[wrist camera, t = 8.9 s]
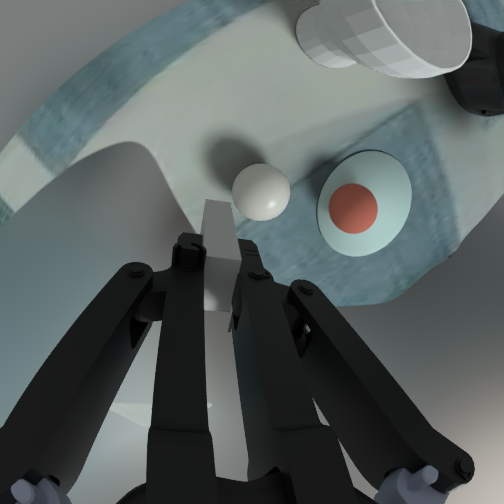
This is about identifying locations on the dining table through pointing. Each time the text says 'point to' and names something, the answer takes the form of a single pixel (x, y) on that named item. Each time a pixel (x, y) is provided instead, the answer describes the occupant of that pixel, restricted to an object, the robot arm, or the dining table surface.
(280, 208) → the cue ball
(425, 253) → the dining table surface
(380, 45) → the cup
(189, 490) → the robot arm
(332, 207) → the object ball
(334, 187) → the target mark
